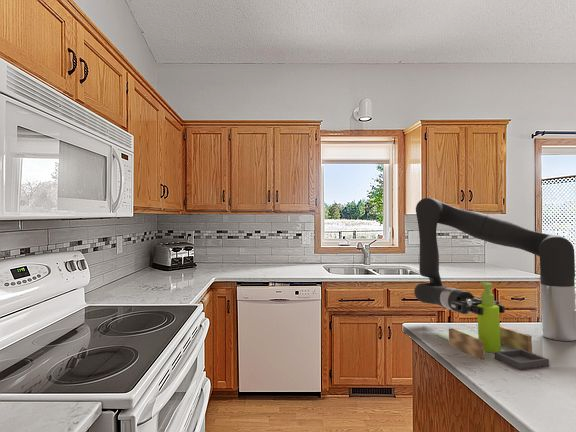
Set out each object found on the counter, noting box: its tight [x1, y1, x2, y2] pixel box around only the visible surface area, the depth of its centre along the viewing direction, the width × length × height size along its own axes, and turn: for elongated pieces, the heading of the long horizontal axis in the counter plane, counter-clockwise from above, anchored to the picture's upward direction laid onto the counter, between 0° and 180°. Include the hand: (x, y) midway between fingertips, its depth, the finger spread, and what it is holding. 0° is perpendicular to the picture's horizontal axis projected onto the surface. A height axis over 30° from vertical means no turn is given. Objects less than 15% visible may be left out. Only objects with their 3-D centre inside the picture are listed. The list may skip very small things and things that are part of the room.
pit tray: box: [493, 349, 550, 371], centre depth 106 cm, size 9×9×2 cm
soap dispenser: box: [477, 281, 502, 353], centre depth 117 cm, size 6×7×20 cm
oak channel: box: [448, 325, 533, 360], centre depth 117 cm, size 14×17×5 cm
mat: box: [433, 329, 478, 342], centre depth 130 cm, size 11×13×1 cm
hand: (492, 310), depth 115 cm, fingers open, 7 cm apart
